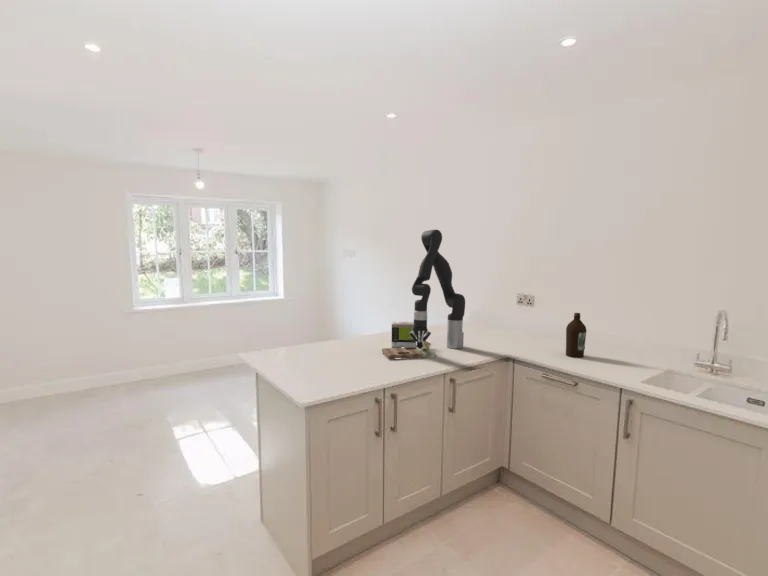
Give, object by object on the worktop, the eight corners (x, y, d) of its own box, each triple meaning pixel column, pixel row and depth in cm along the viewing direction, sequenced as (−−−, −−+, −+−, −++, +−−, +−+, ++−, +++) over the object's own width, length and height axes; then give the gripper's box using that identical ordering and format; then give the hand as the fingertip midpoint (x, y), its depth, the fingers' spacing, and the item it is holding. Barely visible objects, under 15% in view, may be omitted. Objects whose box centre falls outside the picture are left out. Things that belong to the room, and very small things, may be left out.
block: (425, 348, 246) (428, 342, 246) (428, 350, 243) (431, 343, 243) (419, 346, 245) (422, 339, 245) (422, 347, 241) (425, 341, 241)
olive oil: (560, 354, 246) (563, 312, 243) (571, 352, 252) (574, 311, 249) (577, 359, 237) (580, 315, 234) (588, 356, 243) (591, 313, 240)
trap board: (426, 350, 251) (426, 346, 251) (435, 357, 237) (435, 352, 237) (382, 352, 245) (382, 348, 245) (388, 359, 230) (388, 355, 230)
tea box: (416, 344, 266) (416, 321, 264) (415, 348, 256) (416, 324, 254) (392, 343, 267) (392, 320, 266) (391, 347, 257) (391, 323, 256)
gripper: (429, 317, 245) (428, 346, 247) (407, 317, 242) (406, 347, 244) (433, 319, 238) (432, 349, 240) (411, 319, 235) (410, 350, 237)
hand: (419, 348), depth 242 cm, fingers closed
